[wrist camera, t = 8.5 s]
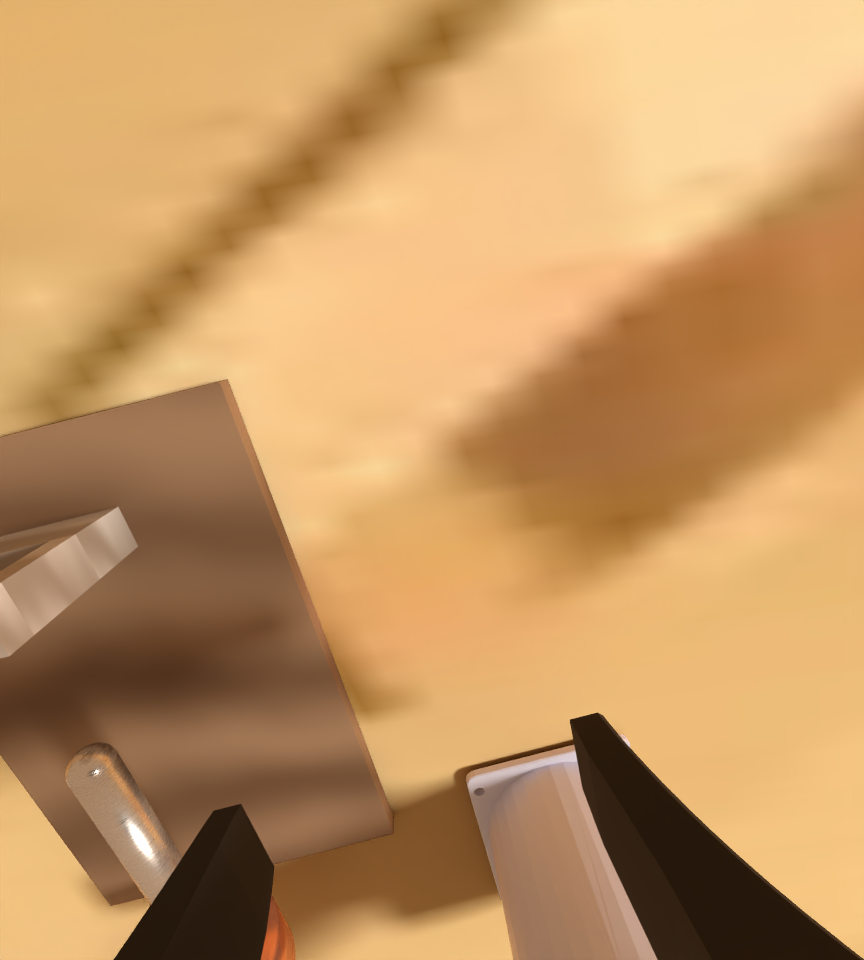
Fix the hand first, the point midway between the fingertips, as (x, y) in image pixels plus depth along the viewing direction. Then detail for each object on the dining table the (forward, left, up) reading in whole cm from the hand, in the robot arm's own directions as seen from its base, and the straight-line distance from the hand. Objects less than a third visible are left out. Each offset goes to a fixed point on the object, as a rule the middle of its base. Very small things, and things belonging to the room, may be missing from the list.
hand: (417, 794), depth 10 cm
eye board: (-2, +11, -9) cm, 15 cm away
